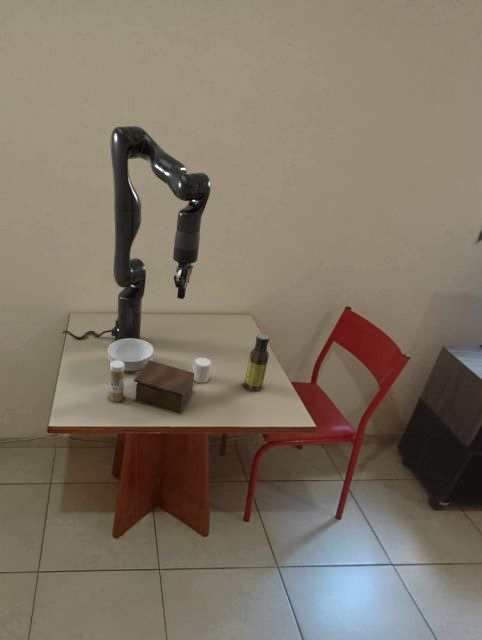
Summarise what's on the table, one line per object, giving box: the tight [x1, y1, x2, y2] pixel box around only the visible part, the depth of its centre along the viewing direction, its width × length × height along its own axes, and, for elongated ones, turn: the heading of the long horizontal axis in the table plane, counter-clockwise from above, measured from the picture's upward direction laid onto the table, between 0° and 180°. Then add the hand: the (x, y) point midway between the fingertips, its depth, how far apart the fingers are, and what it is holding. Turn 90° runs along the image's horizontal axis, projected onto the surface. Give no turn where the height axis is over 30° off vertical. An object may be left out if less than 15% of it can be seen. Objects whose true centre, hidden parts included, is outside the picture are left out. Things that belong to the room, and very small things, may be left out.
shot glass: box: [192, 356, 214, 384], centre depth 156 cm, size 7×7×7 cm
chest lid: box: [133, 360, 195, 396], centre depth 144 cm, size 16×13×1 cm
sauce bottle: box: [244, 333, 270, 392], centre depth 149 cm, size 6×6×20 cm
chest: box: [135, 376, 194, 414], centre depth 147 cm, size 15×13×7 cm
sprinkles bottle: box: [109, 361, 125, 403], centre depth 143 cm, size 5×5×13 cm
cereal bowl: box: [107, 338, 155, 372], centre depth 162 cm, size 17×17×7 cm
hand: (180, 297), depth 145 cm, fingers closed
